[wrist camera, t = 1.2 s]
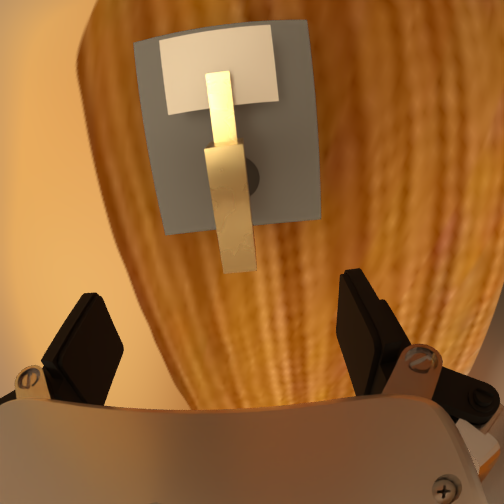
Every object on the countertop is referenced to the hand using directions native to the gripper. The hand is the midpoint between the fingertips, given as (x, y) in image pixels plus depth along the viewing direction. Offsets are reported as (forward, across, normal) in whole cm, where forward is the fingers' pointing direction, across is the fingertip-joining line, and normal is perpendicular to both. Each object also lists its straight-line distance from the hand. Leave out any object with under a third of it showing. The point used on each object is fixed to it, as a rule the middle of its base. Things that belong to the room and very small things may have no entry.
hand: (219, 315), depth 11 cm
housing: (+22, 0, -5) cm, 22 cm away
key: (+19, 0, -3) cm, 20 cm away
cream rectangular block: (+20, 0, -10) cm, 22 cm away
